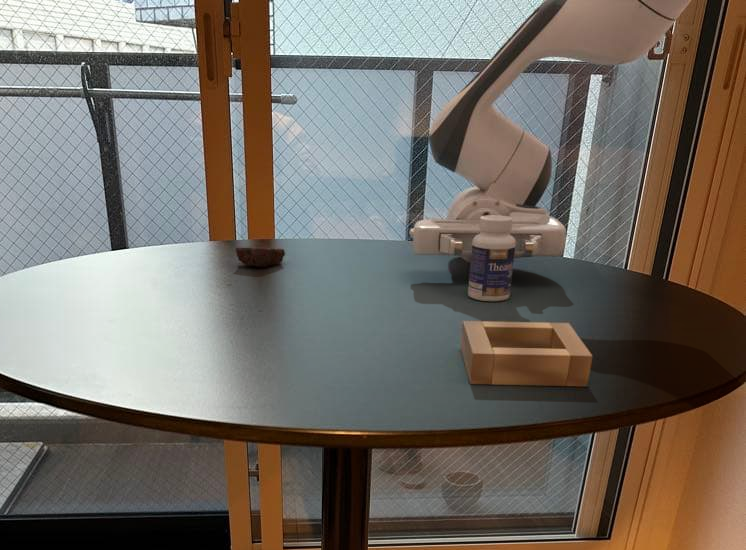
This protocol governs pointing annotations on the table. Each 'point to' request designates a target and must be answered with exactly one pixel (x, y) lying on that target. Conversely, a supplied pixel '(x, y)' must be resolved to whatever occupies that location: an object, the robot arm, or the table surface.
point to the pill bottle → (492, 259)
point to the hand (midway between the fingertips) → (493, 249)
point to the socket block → (524, 354)
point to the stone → (260, 256)
